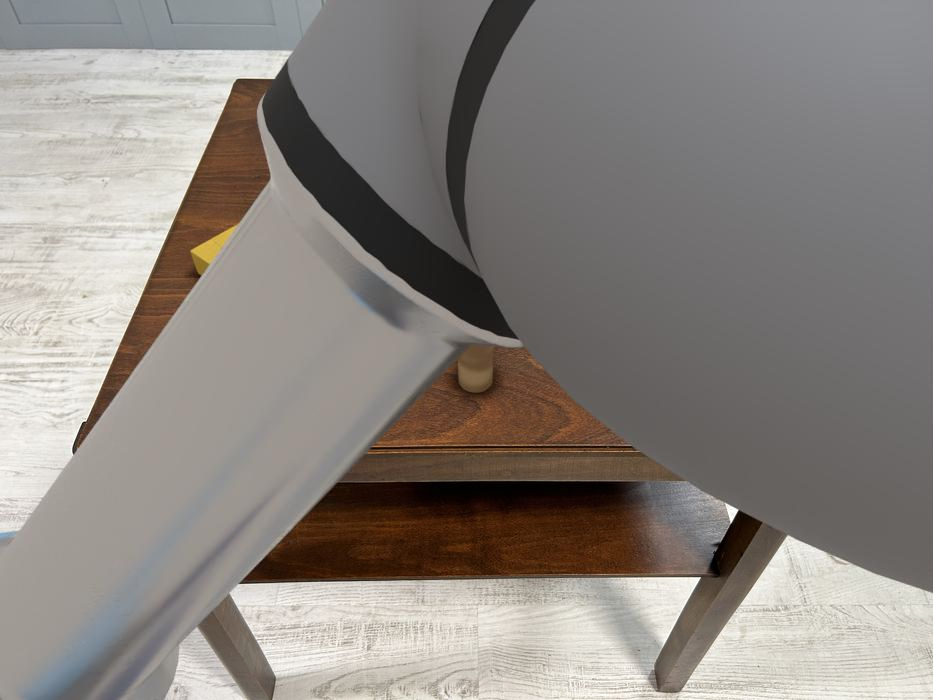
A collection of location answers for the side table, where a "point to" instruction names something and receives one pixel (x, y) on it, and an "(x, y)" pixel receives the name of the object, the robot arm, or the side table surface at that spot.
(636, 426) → the robot arm
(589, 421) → the side table surface
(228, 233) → the socket block
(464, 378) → the dowel
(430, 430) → the side table surface
